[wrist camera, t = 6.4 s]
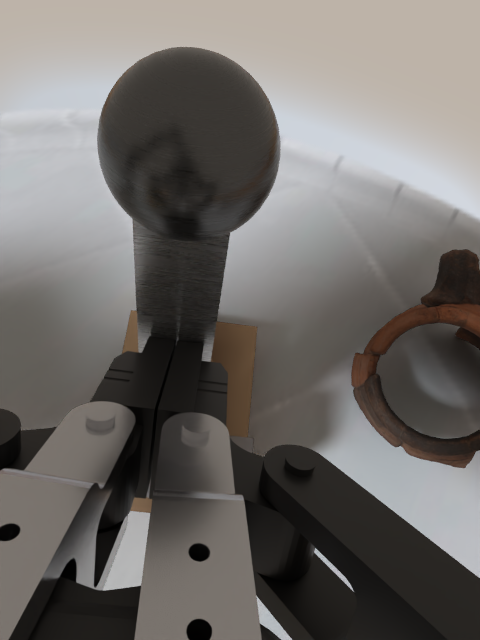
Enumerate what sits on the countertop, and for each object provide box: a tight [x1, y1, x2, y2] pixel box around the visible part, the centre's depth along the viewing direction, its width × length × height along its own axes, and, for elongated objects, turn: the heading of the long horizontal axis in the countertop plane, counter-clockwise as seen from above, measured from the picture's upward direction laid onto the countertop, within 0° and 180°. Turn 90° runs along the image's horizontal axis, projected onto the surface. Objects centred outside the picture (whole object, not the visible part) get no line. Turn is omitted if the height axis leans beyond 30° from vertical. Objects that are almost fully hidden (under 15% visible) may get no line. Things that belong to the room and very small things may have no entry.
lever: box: [97, 47, 280, 498], centre depth 15 cm, size 4×4×18 cm
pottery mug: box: [352, 249, 480, 468], centre depth 26 cm, size 12×10×8 cm
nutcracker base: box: [122, 310, 257, 513], centre depth 23 cm, size 7×10×6 cm
